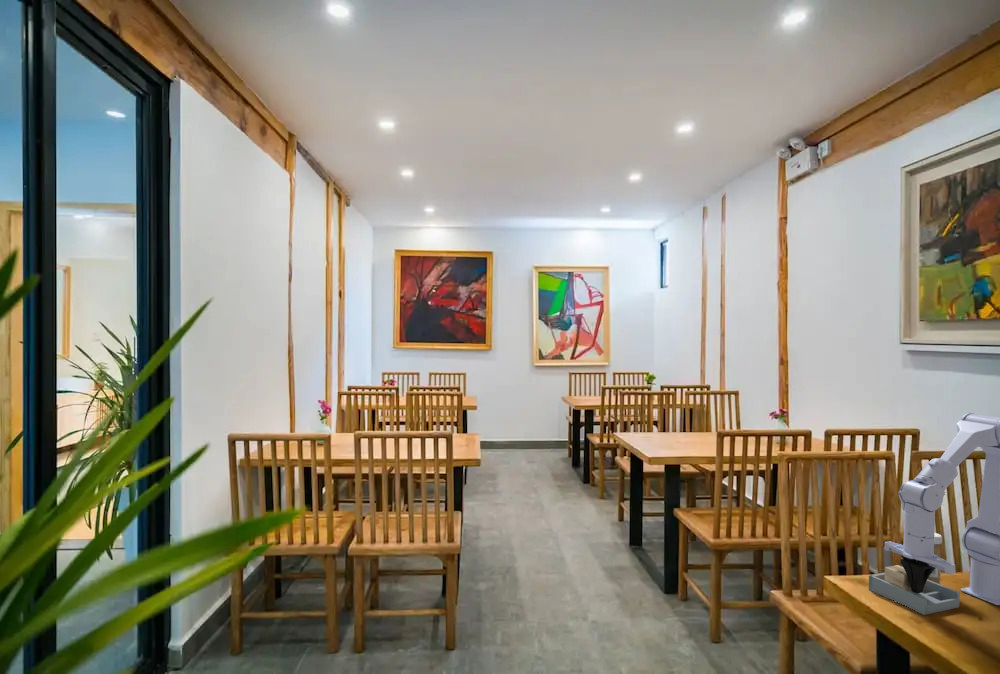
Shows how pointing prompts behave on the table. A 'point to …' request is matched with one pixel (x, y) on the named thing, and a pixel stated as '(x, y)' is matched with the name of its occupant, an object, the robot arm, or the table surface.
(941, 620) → the table surface
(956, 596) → the trap box
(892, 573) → the beech block
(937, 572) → the sprinkles bottle
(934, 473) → the robot arm
